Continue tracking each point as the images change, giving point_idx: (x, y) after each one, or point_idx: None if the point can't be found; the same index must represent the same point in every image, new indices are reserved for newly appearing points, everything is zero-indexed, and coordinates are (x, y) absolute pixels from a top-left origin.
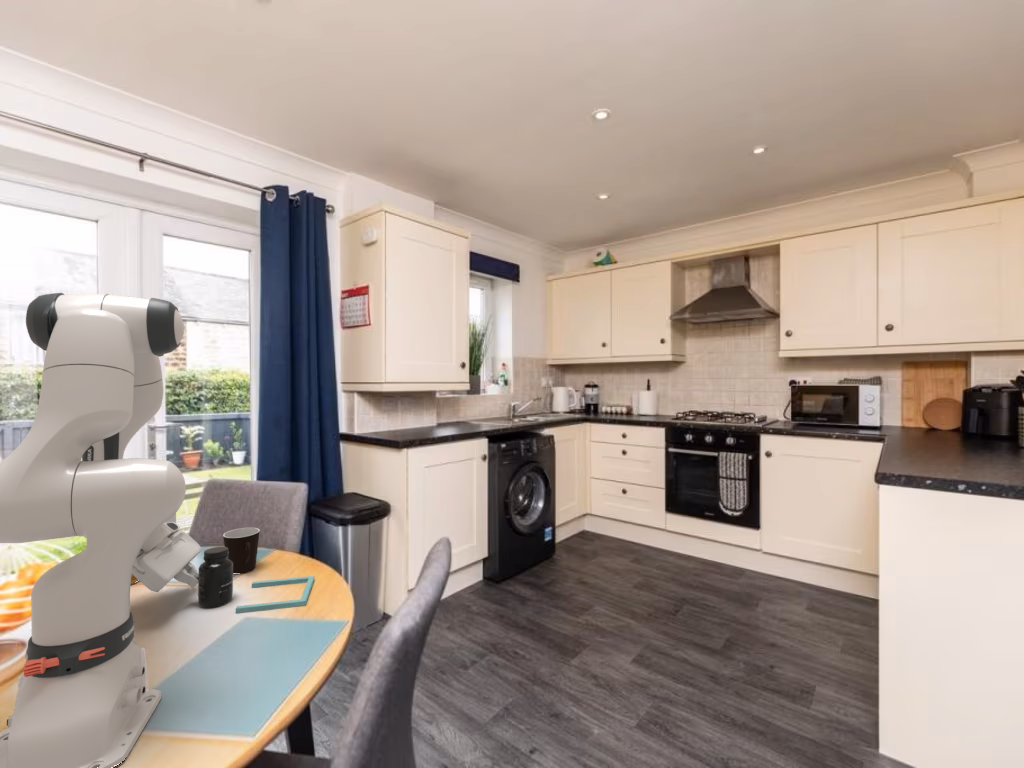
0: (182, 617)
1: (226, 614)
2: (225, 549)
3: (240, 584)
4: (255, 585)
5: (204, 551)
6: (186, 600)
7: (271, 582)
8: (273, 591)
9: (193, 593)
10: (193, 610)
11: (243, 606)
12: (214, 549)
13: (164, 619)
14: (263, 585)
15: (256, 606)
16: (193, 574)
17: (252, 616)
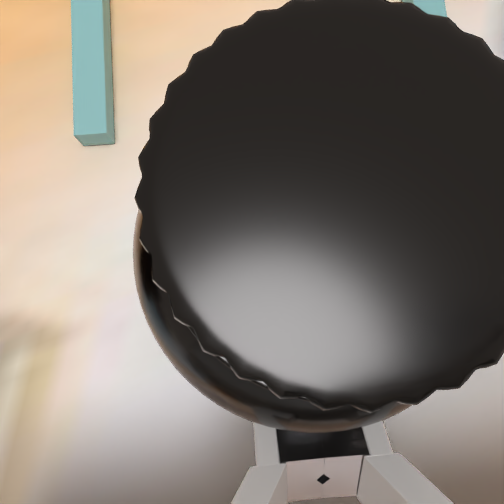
0: (467, 396)
1: None
2: (353, 17)
3: (39, 231)
4: (110, 117)
5: (425, 397)
6: (227, 486)
7: (104, 25)
8: (194, 8)
9: (120, 490)
10: None
11: None
12: (319, 232)
13: (482, 496)
14: (109, 77)
15: (444, 7)
16: (283, 489)
17: (493, 25)
